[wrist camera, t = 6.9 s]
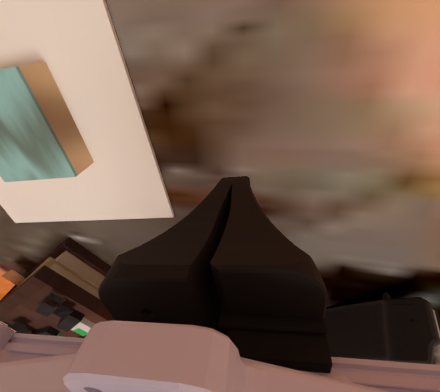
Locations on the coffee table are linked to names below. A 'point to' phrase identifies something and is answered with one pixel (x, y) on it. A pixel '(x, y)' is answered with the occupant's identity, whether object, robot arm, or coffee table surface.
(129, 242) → the coffee table surface
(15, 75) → the tile
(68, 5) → the mat
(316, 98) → the coffee table surface
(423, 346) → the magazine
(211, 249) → the robot arm
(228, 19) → the coffee table surface
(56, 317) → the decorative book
